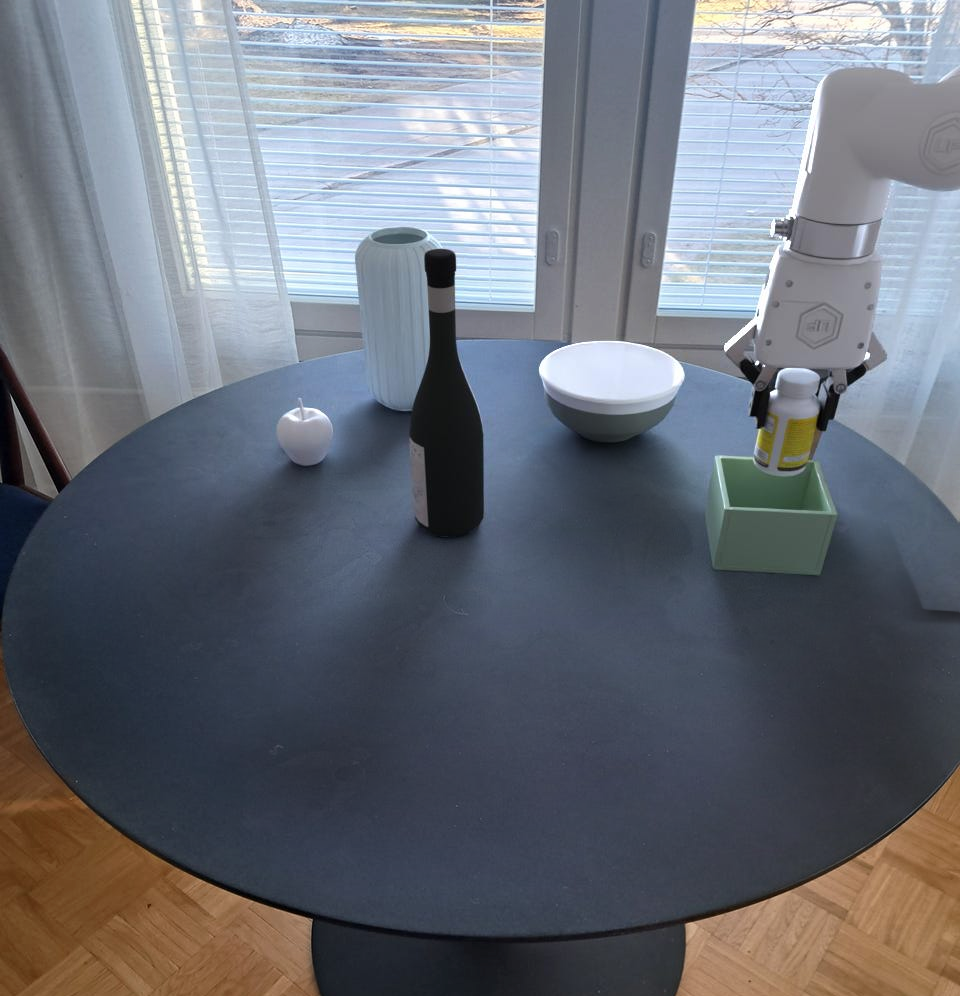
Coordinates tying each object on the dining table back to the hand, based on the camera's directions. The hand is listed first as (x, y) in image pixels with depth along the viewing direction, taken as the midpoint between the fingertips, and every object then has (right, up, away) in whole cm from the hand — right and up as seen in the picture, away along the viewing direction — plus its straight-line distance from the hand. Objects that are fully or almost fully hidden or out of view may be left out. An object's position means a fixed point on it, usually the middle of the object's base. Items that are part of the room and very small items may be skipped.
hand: (788, 422), depth 91 cm
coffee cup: (+5, -2, +20) cm, 21 cm away
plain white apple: (-53, +1, +25) cm, 59 cm away
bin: (0, -11, +10) cm, 15 cm away
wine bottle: (-35, -8, +14) cm, 38 cm away
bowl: (-14, +7, +31) cm, 34 cm away
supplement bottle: (0, -4, +3) cm, 5 cm away
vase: (-41, +12, +38) cm, 57 cm away
